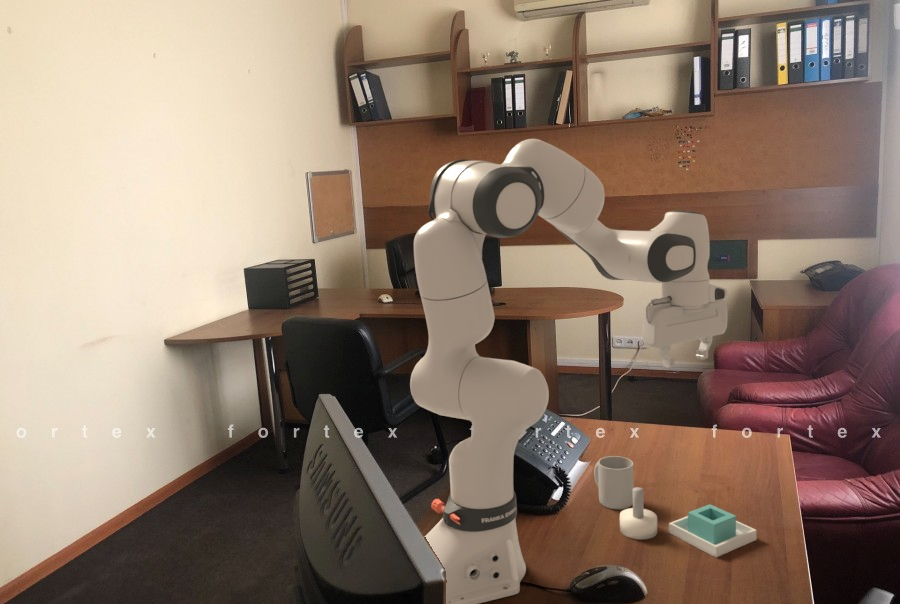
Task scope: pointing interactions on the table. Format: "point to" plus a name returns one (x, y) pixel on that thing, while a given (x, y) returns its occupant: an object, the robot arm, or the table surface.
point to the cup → (615, 482)
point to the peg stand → (638, 519)
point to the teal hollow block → (712, 524)
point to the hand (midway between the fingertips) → (685, 362)
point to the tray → (742, 538)
